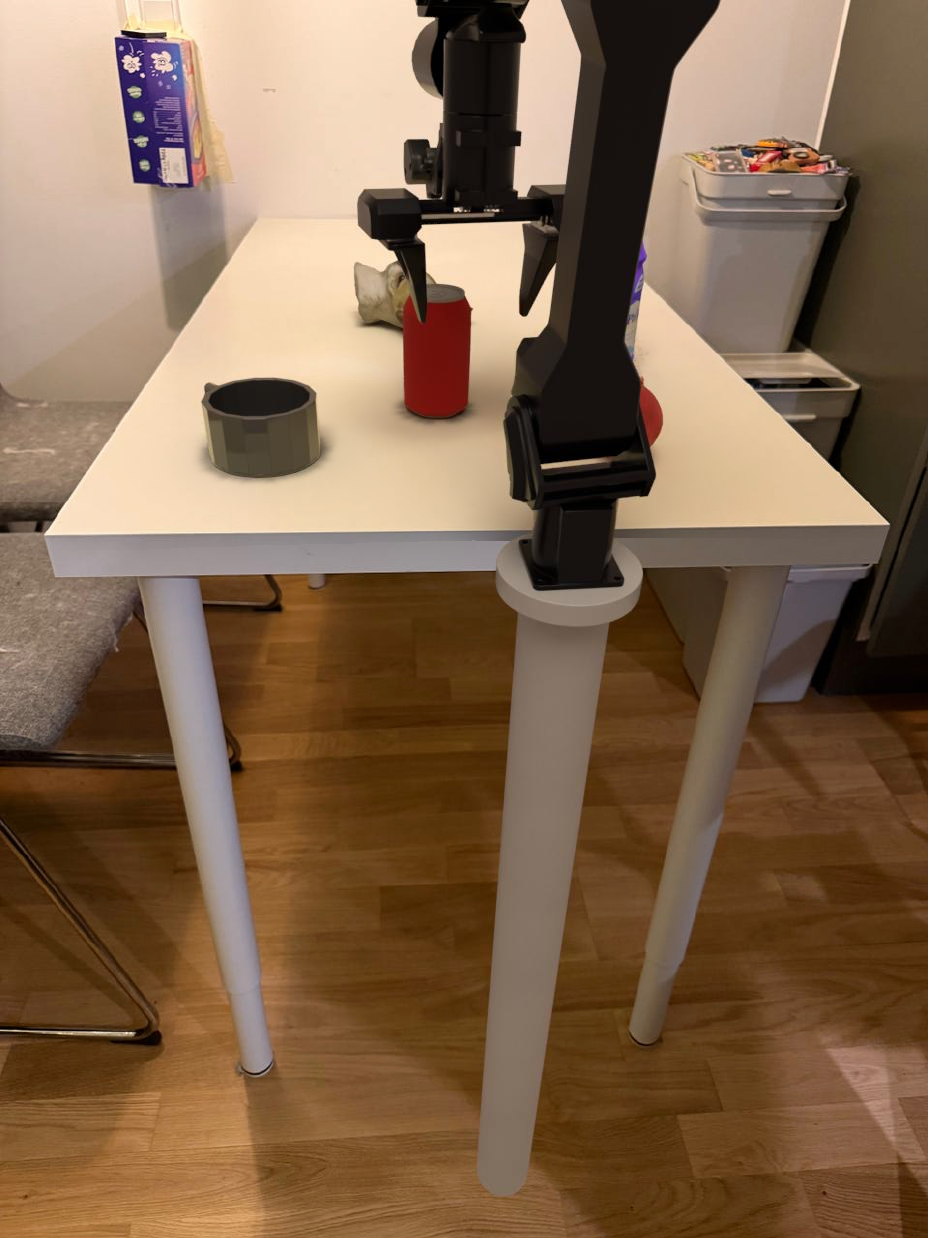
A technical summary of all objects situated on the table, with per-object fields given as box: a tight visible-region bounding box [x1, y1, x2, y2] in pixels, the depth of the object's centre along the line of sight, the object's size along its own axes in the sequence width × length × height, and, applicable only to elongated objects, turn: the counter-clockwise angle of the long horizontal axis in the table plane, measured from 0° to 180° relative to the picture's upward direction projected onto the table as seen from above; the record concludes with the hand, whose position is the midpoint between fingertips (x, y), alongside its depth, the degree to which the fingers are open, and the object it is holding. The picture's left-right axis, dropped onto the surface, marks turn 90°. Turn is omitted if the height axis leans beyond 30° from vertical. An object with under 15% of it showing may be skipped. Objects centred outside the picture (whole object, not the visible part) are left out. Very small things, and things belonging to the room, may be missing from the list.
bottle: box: [625, 240, 648, 361], centre depth 98 cm, size 7×6×17 cm
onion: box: [639, 375, 664, 447], centre depth 80 cm, size 6×6×8 cm
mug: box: [200, 377, 321, 478], centre depth 81 cm, size 13×10×6 cm
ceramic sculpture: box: [353, 259, 474, 329], centre depth 112 cm, size 11×9×15 cm
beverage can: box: [402, 283, 472, 419], centre depth 89 cm, size 7×7×12 cm
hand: (473, 318), depth 76 cm, fingers open, 9 cm apart
